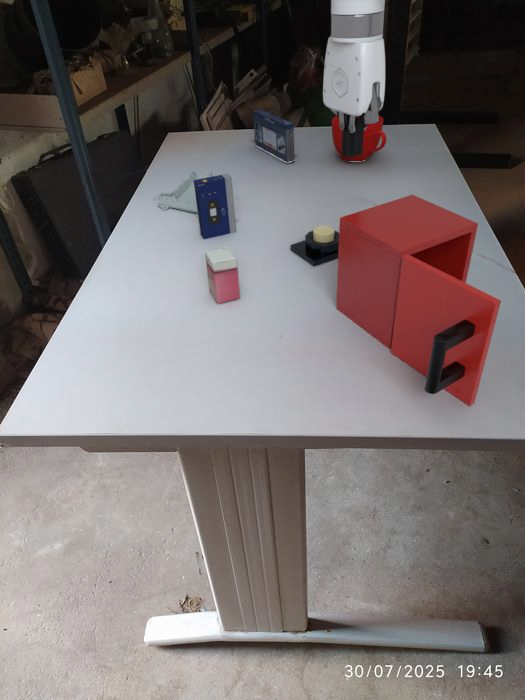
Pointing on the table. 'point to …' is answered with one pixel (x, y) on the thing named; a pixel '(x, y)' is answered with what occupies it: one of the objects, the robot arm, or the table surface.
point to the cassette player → (215, 205)
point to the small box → (222, 274)
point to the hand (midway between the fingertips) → (351, 154)
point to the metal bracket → (183, 195)
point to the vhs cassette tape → (274, 135)
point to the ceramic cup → (369, 139)
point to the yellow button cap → (323, 234)
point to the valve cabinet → (395, 256)
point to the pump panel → (316, 249)
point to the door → (443, 328)
